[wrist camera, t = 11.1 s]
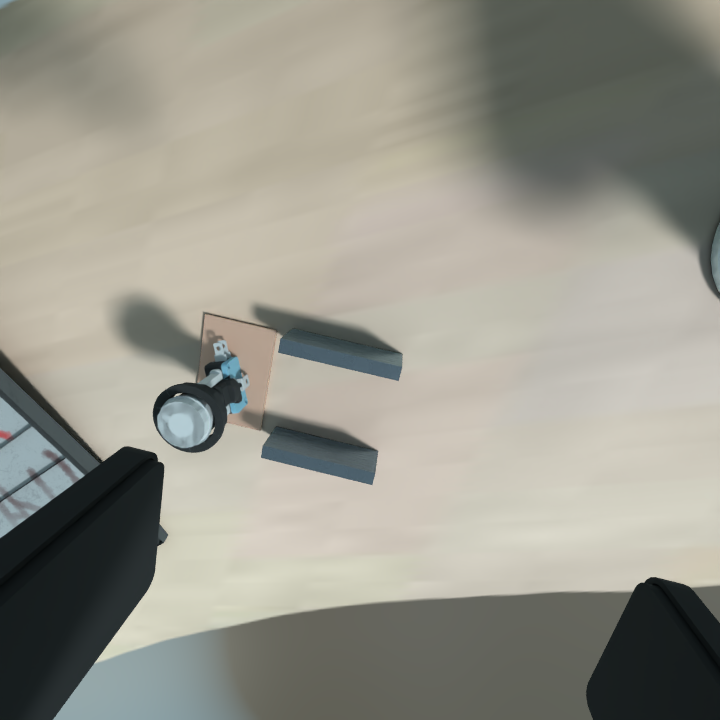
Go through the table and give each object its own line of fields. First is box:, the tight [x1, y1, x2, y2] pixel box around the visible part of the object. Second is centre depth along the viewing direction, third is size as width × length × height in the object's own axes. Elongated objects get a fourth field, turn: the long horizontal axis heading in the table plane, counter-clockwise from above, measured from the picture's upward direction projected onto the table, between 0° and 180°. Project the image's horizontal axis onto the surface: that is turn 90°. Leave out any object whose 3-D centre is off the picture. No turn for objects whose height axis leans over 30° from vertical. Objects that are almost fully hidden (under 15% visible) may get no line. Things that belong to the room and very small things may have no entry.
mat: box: [197, 314, 277, 431], centre depth 40 cm, size 7×10×1 cm, turn 168°
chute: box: [261, 329, 402, 485], centre depth 38 cm, size 10×11×4 cm
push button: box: [153, 340, 250, 453], centre depth 36 cm, size 7×5×10 cm
